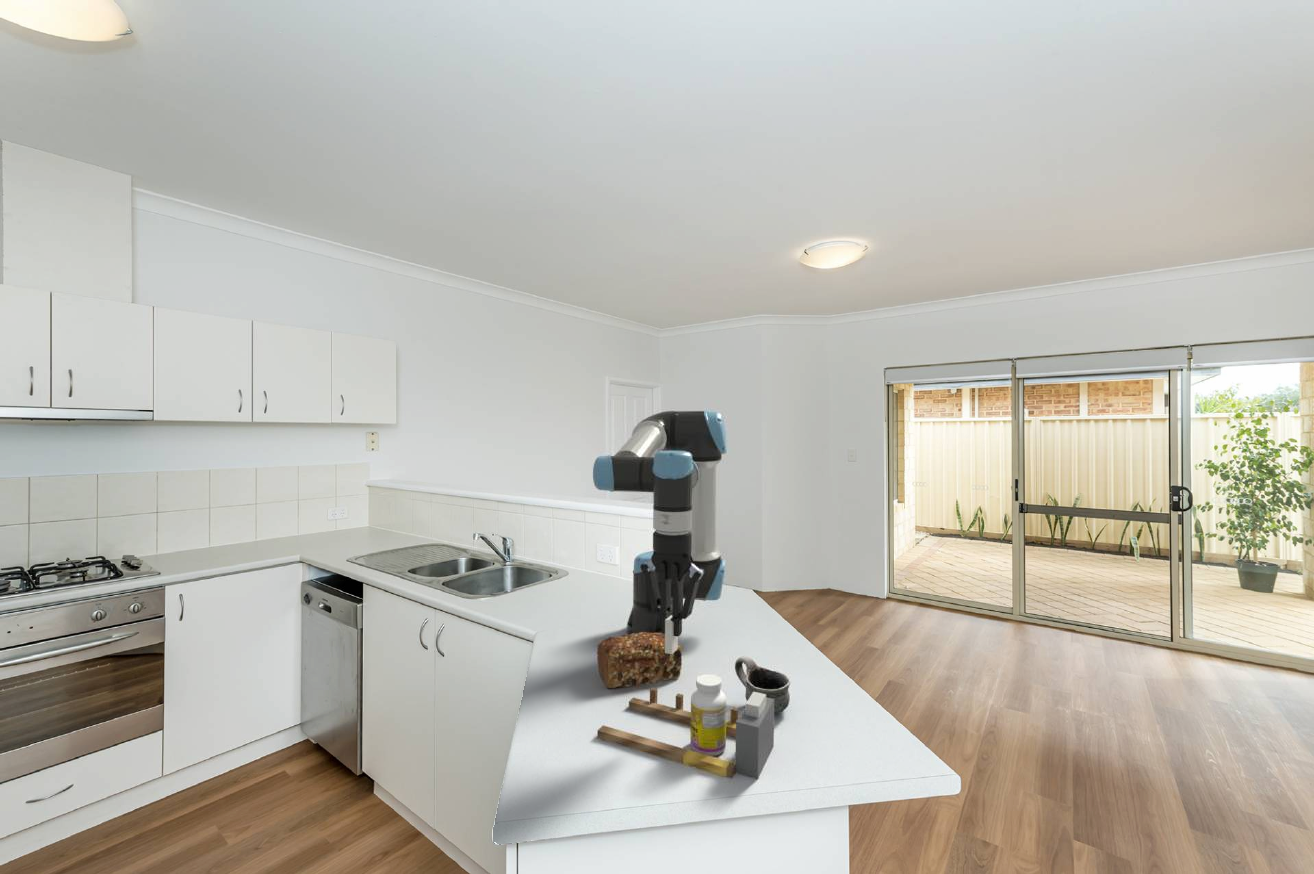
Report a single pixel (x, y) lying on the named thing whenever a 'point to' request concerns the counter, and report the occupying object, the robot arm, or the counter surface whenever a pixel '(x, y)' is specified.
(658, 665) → the bread
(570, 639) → the counter surface
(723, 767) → the wooden rack
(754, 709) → the grey carton
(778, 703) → the mug
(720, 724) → the supplement bottle
